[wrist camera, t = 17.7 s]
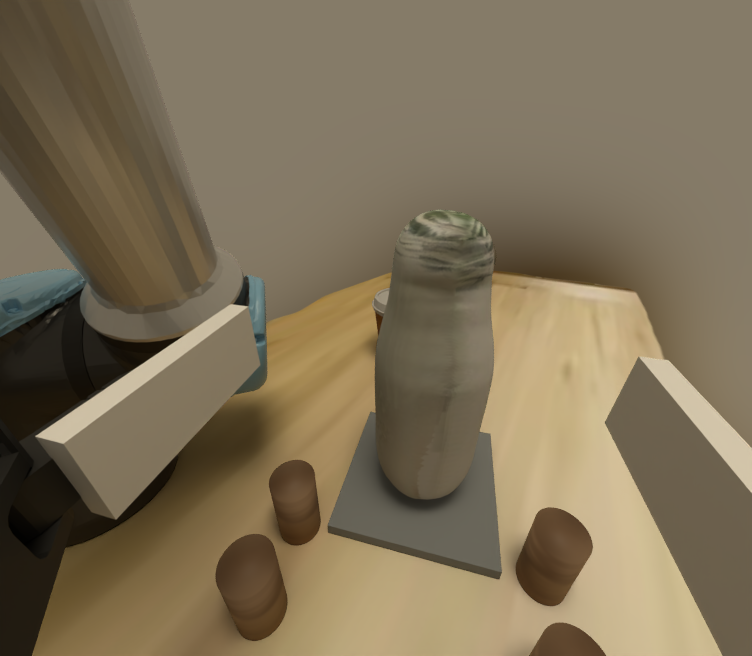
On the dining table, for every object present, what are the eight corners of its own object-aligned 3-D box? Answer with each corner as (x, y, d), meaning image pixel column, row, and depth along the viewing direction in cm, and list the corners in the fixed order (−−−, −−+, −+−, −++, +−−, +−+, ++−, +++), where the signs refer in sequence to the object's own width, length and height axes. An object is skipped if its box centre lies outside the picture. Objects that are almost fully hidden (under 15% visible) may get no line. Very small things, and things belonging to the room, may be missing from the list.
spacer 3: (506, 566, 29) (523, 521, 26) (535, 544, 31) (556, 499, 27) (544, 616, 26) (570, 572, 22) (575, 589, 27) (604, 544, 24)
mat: (328, 532, 31) (327, 525, 31) (370, 418, 45) (370, 411, 44) (499, 579, 28) (501, 572, 27) (488, 440, 42) (490, 433, 41)
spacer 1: (233, 595, 27) (213, 550, 24) (280, 570, 29) (268, 524, 25) (239, 653, 24) (218, 610, 20) (292, 621, 25) (280, 576, 22)
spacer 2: (275, 515, 33) (265, 470, 30) (313, 498, 35) (307, 453, 31) (285, 553, 30) (274, 507, 26) (326, 532, 31) (320, 487, 28)
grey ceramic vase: (483, 505, 33) (560, 222, 19) (386, 527, 31) (397, 229, 17) (444, 433, 41) (479, 201, 28) (366, 446, 39) (363, 204, 26)
